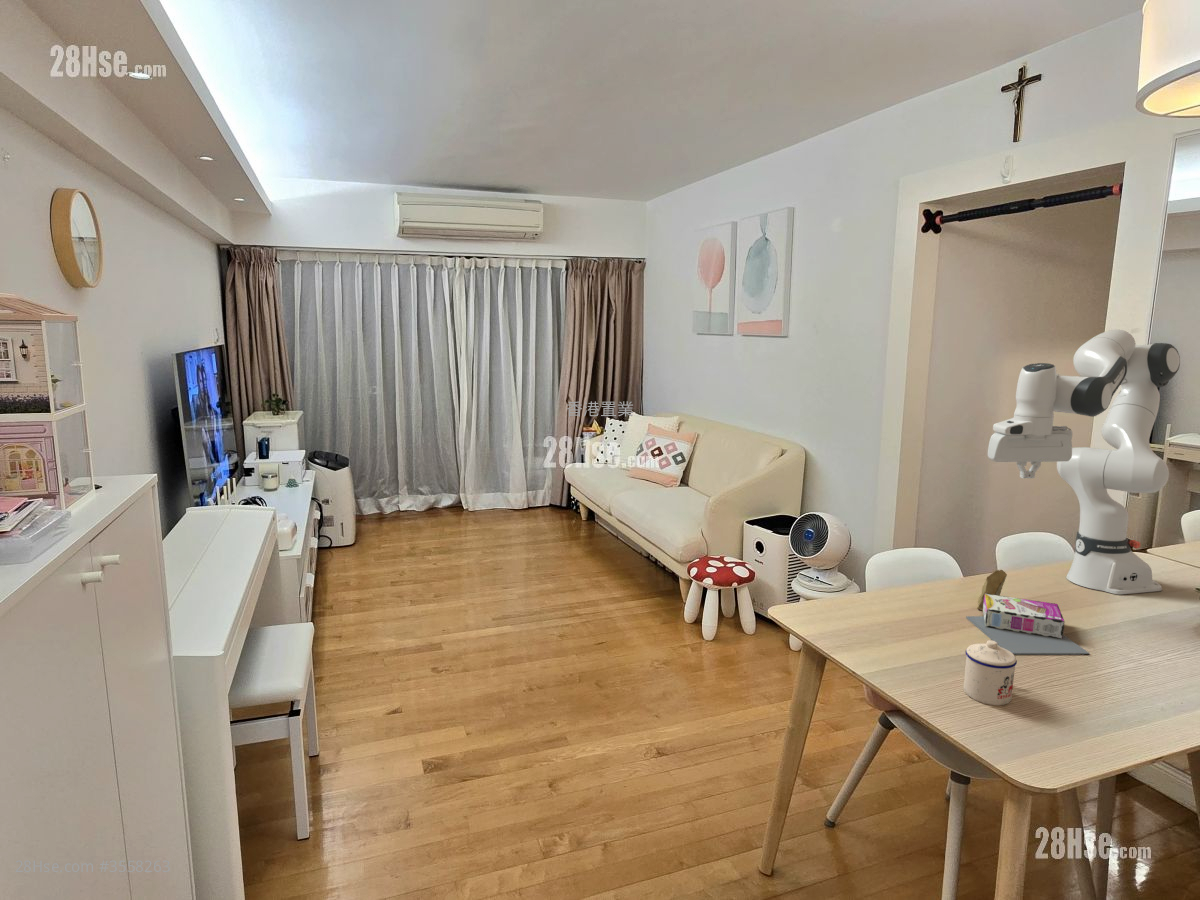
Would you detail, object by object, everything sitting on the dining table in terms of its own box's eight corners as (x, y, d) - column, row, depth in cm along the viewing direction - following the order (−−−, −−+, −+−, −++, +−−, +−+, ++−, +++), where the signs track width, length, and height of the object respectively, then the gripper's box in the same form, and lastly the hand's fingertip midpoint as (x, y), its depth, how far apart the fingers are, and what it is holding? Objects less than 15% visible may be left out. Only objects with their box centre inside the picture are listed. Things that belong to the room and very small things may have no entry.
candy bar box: (1065, 619, 163) (986, 609, 170) (1063, 639, 164) (984, 628, 171) (1057, 602, 173) (983, 592, 180) (1055, 620, 174) (982, 610, 181)
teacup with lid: (1006, 712, 135) (1012, 657, 133) (956, 695, 141) (961, 642, 139) (1020, 688, 144) (1026, 635, 142) (972, 673, 150) (977, 623, 148)
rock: (993, 609, 177) (1022, 598, 180) (976, 577, 180) (1004, 567, 184) (965, 619, 187) (993, 608, 190) (949, 589, 190) (976, 579, 193)
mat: (1036, 617, 177) (1037, 616, 177) (1089, 654, 157) (1089, 653, 157) (965, 617, 178) (966, 616, 177) (1009, 654, 158) (1009, 653, 158)
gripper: (1065, 424, 183) (1059, 475, 185) (987, 424, 183) (982, 475, 186) (1080, 427, 177) (1074, 480, 179) (999, 428, 177) (994, 480, 180)
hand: (1027, 477), depth 182 cm, fingers closed
